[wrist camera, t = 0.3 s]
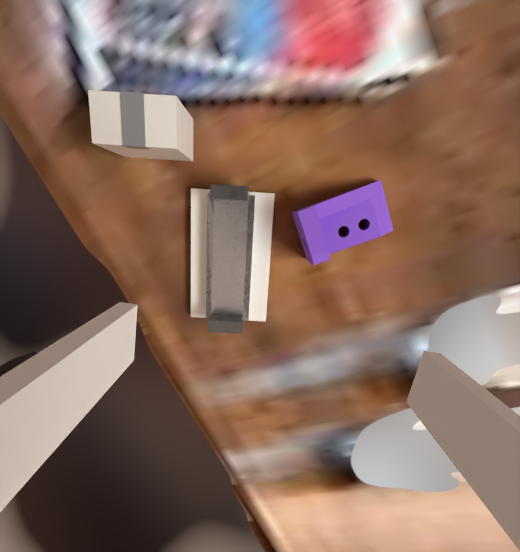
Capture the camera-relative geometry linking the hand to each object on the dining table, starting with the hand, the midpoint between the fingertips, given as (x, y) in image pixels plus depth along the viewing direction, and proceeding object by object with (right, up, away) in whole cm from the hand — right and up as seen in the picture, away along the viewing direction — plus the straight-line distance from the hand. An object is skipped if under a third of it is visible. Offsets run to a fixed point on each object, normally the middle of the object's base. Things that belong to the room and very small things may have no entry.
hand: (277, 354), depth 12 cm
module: (-14, +21, +22) cm, 34 cm away
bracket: (+10, +11, +25) cm, 29 cm away
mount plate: (-5, +6, +26) cm, 27 cm away
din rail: (-5, +6, +26) cm, 27 cm away
